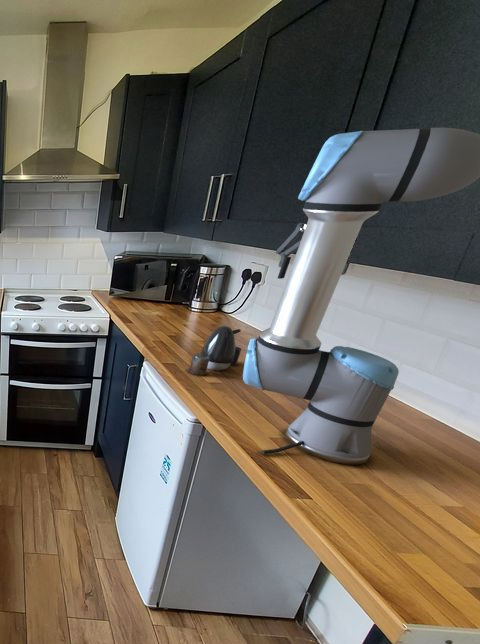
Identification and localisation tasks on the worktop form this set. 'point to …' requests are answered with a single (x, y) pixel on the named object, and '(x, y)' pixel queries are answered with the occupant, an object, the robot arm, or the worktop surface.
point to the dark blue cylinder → (236, 356)
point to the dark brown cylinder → (199, 364)
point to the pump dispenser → (220, 348)
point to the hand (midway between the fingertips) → (305, 282)
